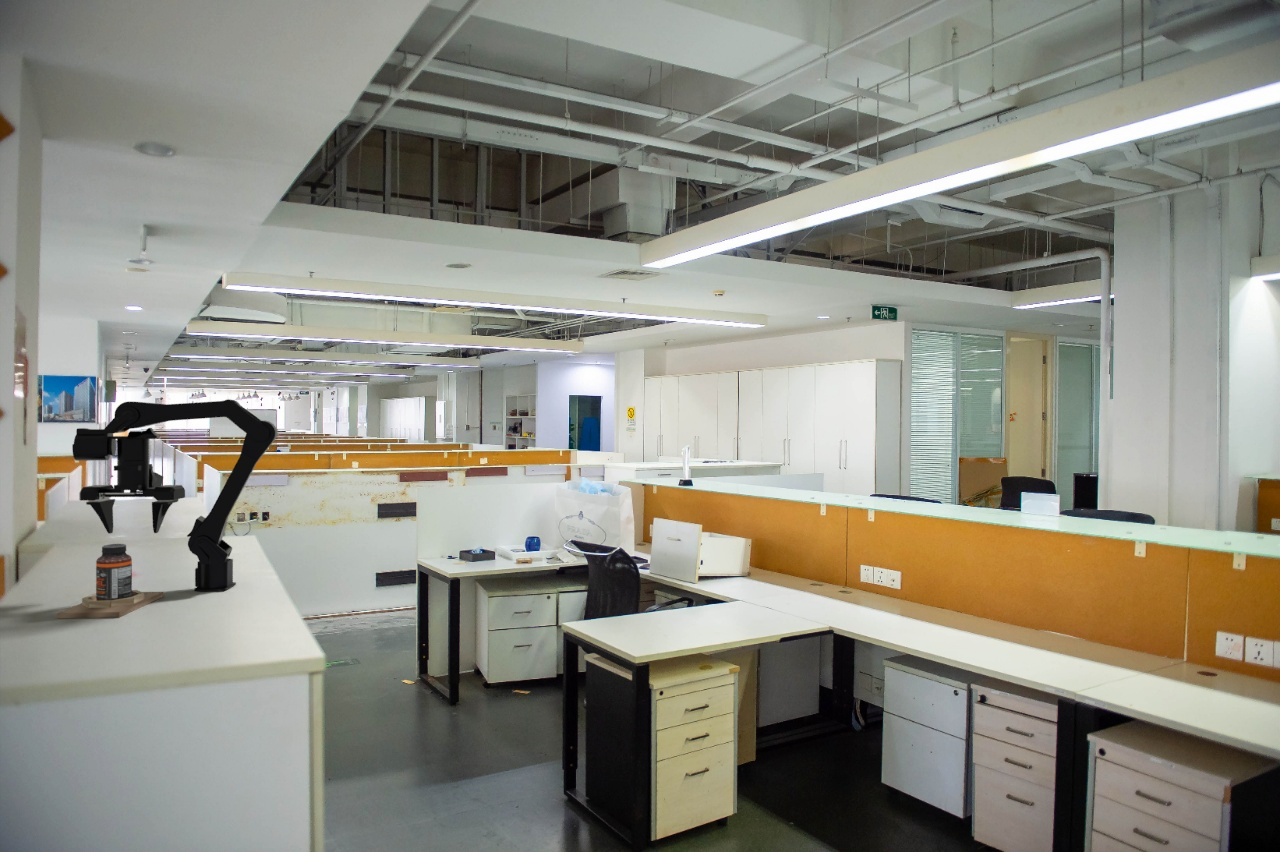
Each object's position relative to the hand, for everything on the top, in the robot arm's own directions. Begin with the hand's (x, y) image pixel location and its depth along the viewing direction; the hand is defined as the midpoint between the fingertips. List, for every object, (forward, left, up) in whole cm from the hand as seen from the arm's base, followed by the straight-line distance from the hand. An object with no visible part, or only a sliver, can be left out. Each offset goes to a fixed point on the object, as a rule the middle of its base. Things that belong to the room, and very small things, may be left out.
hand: (133, 533), depth 168 cm
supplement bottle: (-2, +11, -12) cm, 17 cm away
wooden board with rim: (-2, +11, -13) cm, 17 cm away
